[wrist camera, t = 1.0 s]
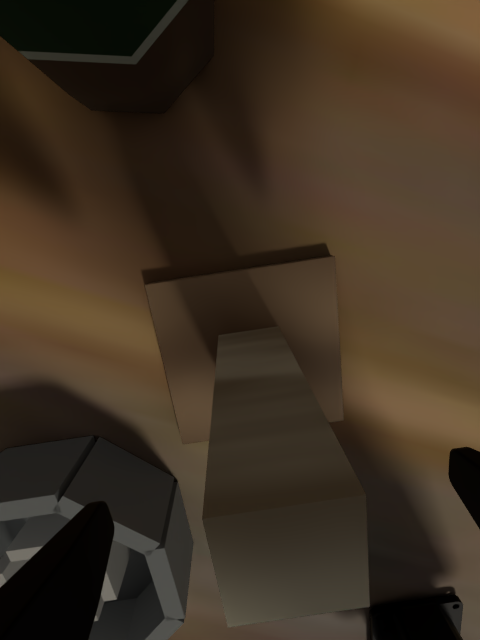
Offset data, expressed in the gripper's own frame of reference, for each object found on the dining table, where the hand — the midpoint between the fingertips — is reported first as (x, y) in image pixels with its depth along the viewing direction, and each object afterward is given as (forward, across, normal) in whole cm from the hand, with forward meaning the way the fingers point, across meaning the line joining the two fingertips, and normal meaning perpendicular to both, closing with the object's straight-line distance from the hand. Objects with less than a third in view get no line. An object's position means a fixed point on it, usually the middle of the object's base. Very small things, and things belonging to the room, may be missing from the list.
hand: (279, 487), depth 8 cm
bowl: (+9, +12, +10) cm, 18 cm away
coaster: (+9, 0, 0) cm, 9 cm away
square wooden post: (+8, 0, 0) cm, 8 cm away
